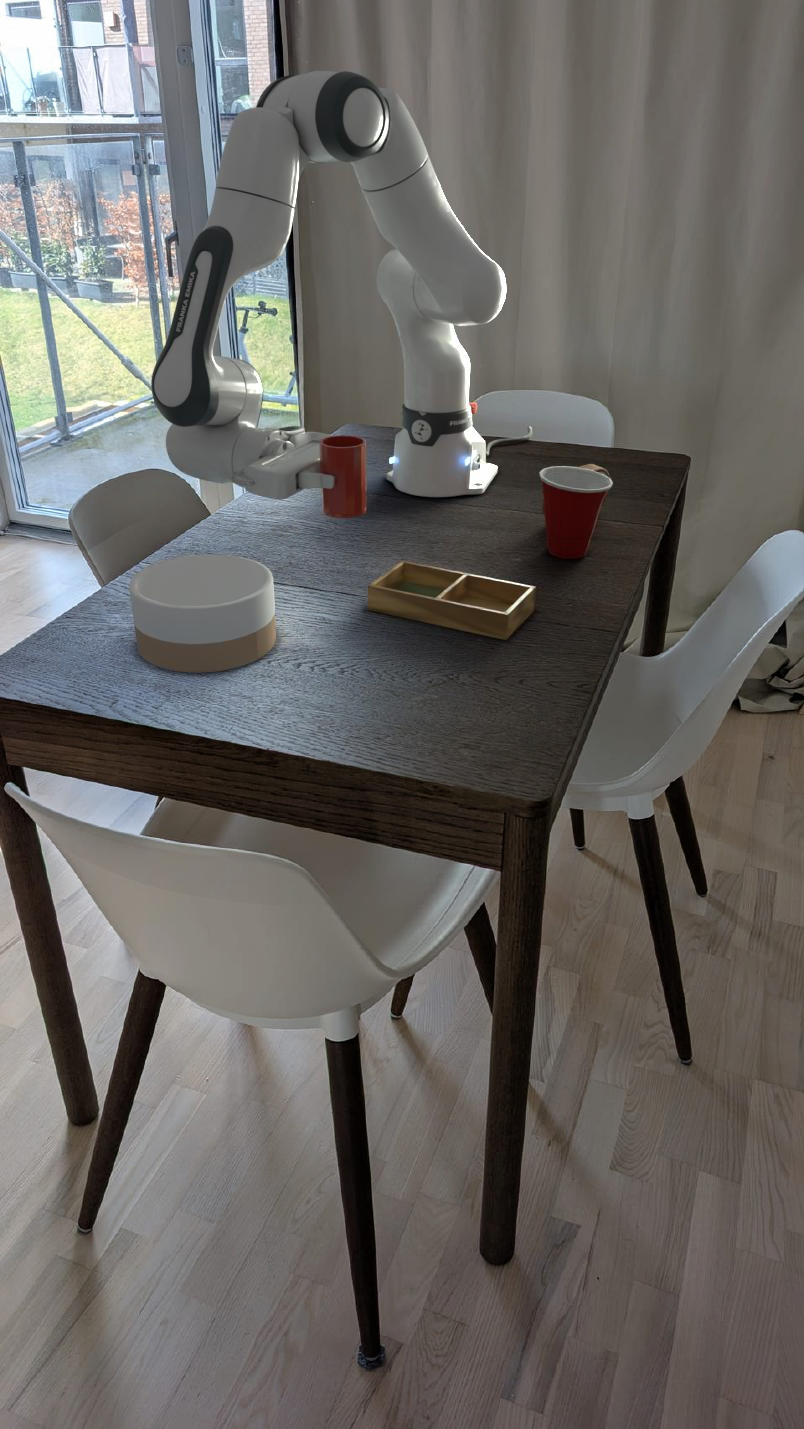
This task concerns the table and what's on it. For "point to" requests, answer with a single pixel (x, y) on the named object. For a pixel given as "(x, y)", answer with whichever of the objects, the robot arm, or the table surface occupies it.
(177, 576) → the bowl
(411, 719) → the table surface
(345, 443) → the cup
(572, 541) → the plastic cup
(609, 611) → the table surface
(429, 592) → the caddy
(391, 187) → the robot arm
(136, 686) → the table surface
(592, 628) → the table surface
